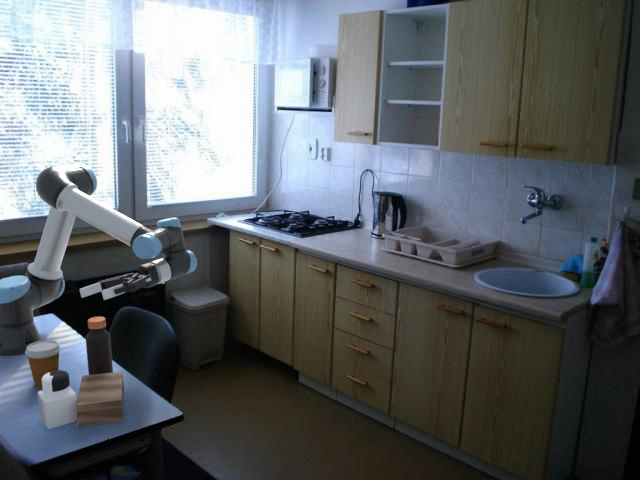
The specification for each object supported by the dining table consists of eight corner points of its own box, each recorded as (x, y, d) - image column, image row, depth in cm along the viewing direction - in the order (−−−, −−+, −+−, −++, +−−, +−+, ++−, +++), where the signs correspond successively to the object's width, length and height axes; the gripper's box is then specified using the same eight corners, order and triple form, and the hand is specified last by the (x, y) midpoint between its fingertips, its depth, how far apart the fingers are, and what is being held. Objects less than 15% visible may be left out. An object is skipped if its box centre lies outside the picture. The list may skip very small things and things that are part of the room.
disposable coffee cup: (50, 392, 178) (47, 353, 176) (21, 389, 180) (17, 350, 178) (70, 378, 188) (67, 340, 185) (42, 375, 189) (38, 338, 187)
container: (69, 409, 169) (65, 365, 166) (79, 420, 163) (75, 374, 160) (39, 418, 164) (35, 372, 161) (48, 430, 158) (43, 383, 155)
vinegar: (116, 384, 184) (112, 320, 180) (93, 390, 180) (88, 325, 175) (109, 376, 189) (104, 313, 185) (86, 381, 185) (81, 318, 181)
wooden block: (83, 395, 177) (82, 375, 175) (124, 390, 180) (122, 371, 178) (78, 426, 160) (76, 405, 159) (122, 420, 163) (121, 399, 162)
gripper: (178, 286, 190) (116, 308, 175) (135, 283, 207) (75, 304, 192) (172, 262, 189) (109, 283, 174) (129, 261, 206) (69, 280, 191)
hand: (91, 294), depth 183 cm, fingers open, 13 cm apart
